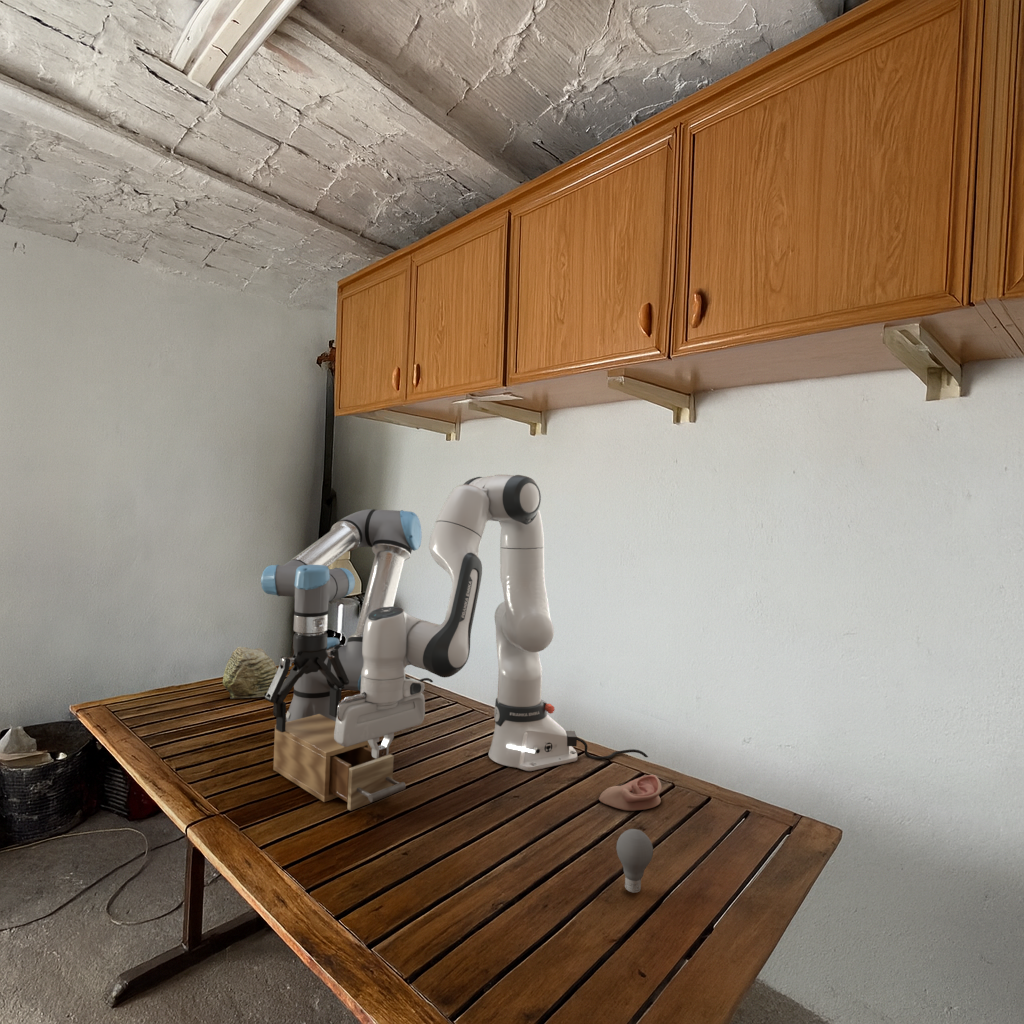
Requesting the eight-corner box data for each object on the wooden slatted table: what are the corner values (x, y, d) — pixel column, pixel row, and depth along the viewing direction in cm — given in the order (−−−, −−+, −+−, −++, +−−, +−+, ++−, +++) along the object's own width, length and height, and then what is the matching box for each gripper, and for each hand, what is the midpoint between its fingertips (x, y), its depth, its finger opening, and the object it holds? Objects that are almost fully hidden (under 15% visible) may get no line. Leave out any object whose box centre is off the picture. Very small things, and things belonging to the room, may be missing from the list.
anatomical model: (598, 788, 134) (602, 766, 145) (597, 806, 134) (601, 783, 146) (662, 796, 132) (661, 774, 143) (662, 815, 132) (660, 791, 143)
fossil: (218, 695, 195) (220, 647, 195) (278, 685, 208) (279, 640, 207) (228, 703, 189) (230, 653, 188) (289, 692, 201) (290, 645, 201)
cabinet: (370, 785, 140) (372, 738, 140) (324, 802, 131) (326, 752, 131) (317, 756, 154) (319, 713, 154) (273, 769, 146) (274, 724, 145)
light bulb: (610, 879, 108) (613, 822, 108) (644, 879, 109) (647, 822, 109) (619, 902, 102) (622, 840, 102) (655, 901, 103) (658, 840, 103)
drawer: (409, 804, 130) (410, 764, 130) (367, 821, 122) (369, 779, 122) (338, 765, 147) (340, 729, 147) (298, 778, 140) (299, 741, 139)
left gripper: (267, 643, 135) (264, 742, 135) (365, 627, 153) (362, 714, 154) (250, 637, 140) (248, 732, 140) (347, 622, 158) (345, 706, 159)
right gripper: (347, 702, 118) (344, 776, 119) (430, 682, 134) (428, 747, 134) (329, 694, 123) (326, 765, 123) (411, 676, 138) (408, 739, 138)
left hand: (308, 722), depth 147 cm, fingers open, 13 cm apart
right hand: (379, 756), depth 129 cm, fingers closed
